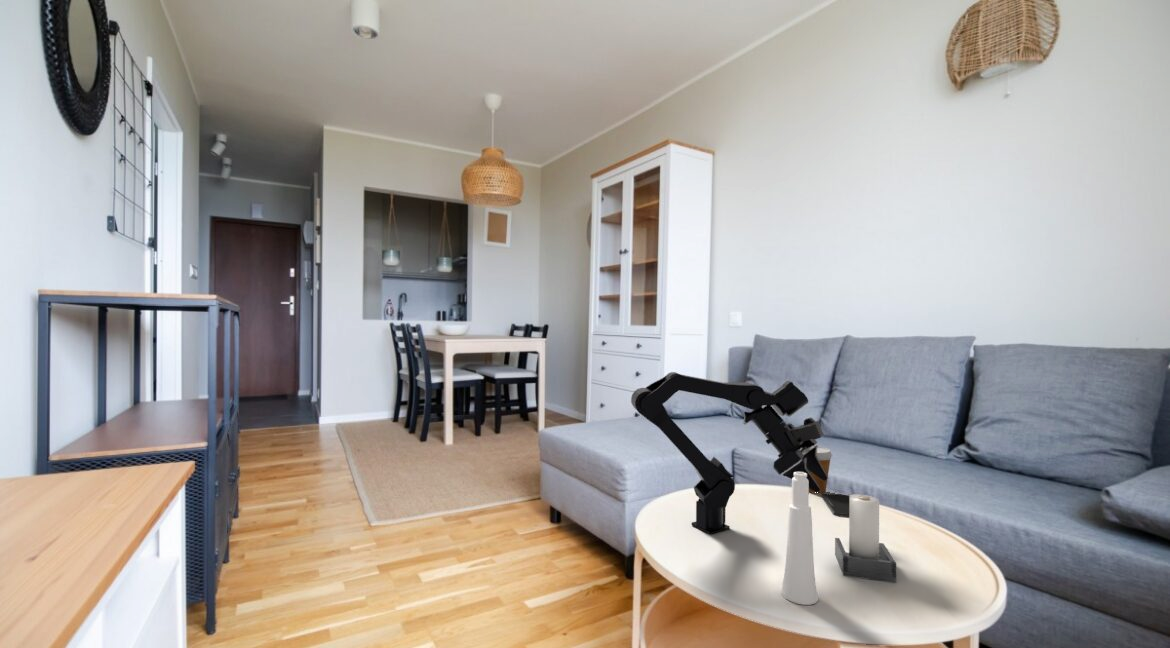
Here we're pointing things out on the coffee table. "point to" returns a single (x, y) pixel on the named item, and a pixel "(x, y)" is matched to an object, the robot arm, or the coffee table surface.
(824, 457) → the disposable coffee cup
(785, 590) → the cosmetic bottle
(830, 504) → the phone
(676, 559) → the coffee table surface
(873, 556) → the paper roll
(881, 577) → the tray
